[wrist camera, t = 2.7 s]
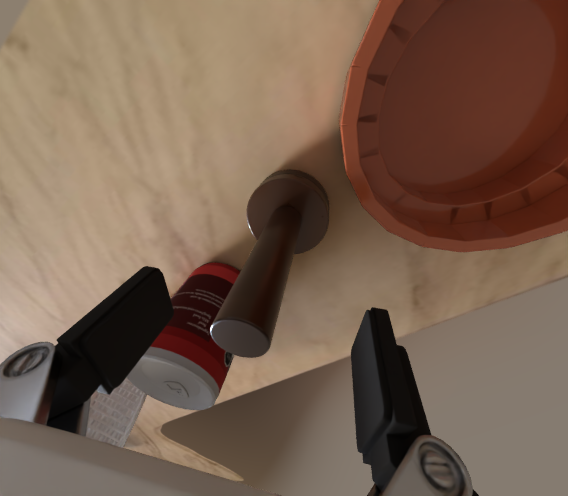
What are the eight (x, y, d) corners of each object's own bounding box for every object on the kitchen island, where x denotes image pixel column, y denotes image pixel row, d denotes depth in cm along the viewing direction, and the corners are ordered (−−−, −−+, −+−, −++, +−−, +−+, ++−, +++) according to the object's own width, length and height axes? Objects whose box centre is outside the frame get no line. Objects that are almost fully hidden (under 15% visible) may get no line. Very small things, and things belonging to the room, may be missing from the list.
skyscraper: (180, 302, 29) (-394, 1054, 6) (205, 338, 33) (-97, 899, 10) (134, 306, 32) (-404, 860, 8) (162, 339, 35) (-162, 793, 12)
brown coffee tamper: (255, 234, 21) (178, 367, 11) (254, 165, 18) (138, 260, 7) (322, 244, 21) (312, 397, 10) (335, 174, 17) (340, 294, 6)
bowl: (323, 204, 19) (321, 233, 14) (373, -89, 10) (399, -213, 6) (518, 228, 17) (577, 269, 13) (755, -99, 9) (1130, -277, 5)
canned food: (223, 317, 29) (175, 414, 20) (179, 274, 26) (99, 365, 17) (270, 301, 26) (236, 407, 17) (226, 249, 23) (157, 345, 14)
